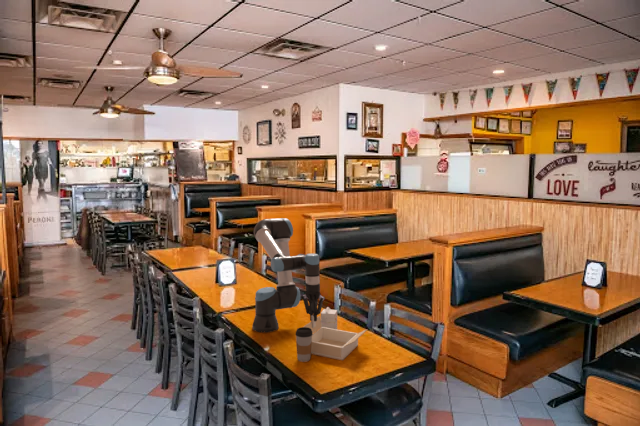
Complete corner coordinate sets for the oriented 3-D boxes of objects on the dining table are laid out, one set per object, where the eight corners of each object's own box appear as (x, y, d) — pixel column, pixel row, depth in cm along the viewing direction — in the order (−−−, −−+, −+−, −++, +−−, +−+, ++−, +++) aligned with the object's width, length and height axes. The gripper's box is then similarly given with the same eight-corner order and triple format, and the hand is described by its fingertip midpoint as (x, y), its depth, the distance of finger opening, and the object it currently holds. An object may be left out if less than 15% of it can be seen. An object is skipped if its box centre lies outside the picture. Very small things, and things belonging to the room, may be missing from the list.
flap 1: (320, 316, 249) (319, 316, 249) (303, 327, 232) (302, 327, 232) (321, 327, 249) (321, 327, 250) (305, 338, 232) (304, 338, 232)
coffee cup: (295, 355, 228) (295, 326, 226) (311, 355, 228) (312, 326, 227) (295, 363, 219) (295, 333, 218) (312, 362, 220) (313, 332, 218)
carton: (303, 352, 232) (303, 340, 231) (322, 338, 251) (322, 326, 251) (342, 360, 222) (342, 348, 222) (358, 345, 242) (358, 333, 242)
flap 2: (353, 341, 220) (354, 342, 220) (367, 328, 238) (367, 329, 238) (343, 346, 223) (344, 347, 223) (357, 333, 240) (358, 334, 240)
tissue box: (334, 334, 258) (335, 311, 256) (320, 333, 259) (320, 310, 258) (337, 329, 266) (337, 306, 265) (323, 327, 268) (323, 305, 266)
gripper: (298, 284, 238) (300, 327, 240) (320, 286, 232) (321, 330, 235) (305, 280, 245) (306, 323, 247) (326, 282, 239) (327, 326, 241)
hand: (313, 326), depth 241 cm, fingers closed
